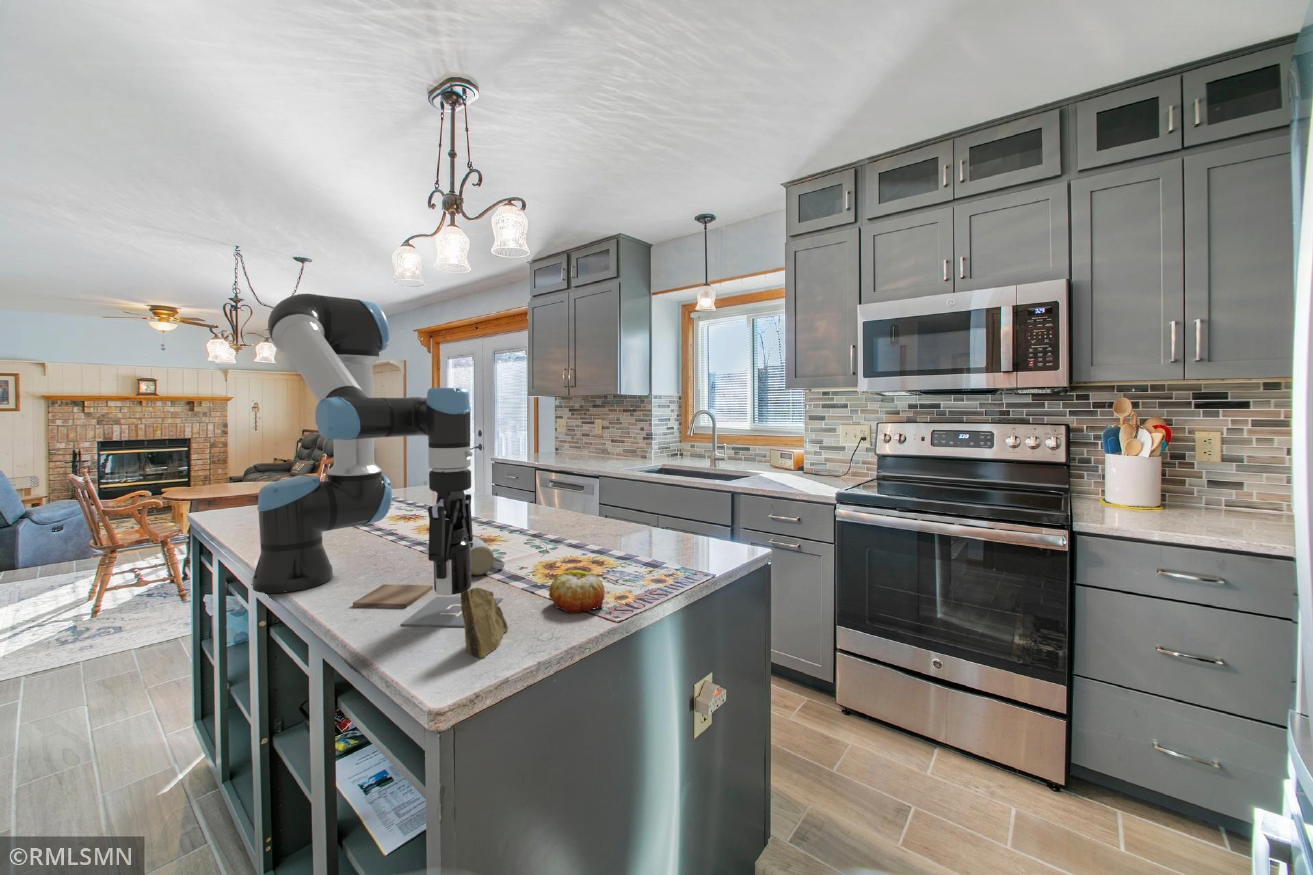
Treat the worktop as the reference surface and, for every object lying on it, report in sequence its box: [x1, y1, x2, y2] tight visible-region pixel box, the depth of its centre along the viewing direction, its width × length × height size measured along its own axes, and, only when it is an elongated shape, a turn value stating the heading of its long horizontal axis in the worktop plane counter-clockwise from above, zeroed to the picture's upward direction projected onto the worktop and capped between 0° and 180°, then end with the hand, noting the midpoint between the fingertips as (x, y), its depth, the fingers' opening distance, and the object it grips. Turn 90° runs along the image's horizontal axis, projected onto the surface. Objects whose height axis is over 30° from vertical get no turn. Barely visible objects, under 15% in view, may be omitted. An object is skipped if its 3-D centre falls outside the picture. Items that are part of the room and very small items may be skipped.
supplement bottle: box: [432, 526, 472, 596], centre depth 107 cm, size 7×7×12 cm
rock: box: [460, 587, 509, 659], centre depth 94 cm, size 11×9×10 cm
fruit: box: [548, 569, 606, 614], centre depth 111 cm, size 11×10×8 cm
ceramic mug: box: [469, 537, 506, 576], centre depth 133 cm, size 11×8×8 cm
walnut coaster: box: [352, 584, 434, 609], centre depth 115 cm, size 11×11×1 cm
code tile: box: [400, 596, 504, 628], centre depth 107 cm, size 14×14×1 cm
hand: (452, 587), depth 107 cm, fingers closed on supplement bottle, 7 cm apart
